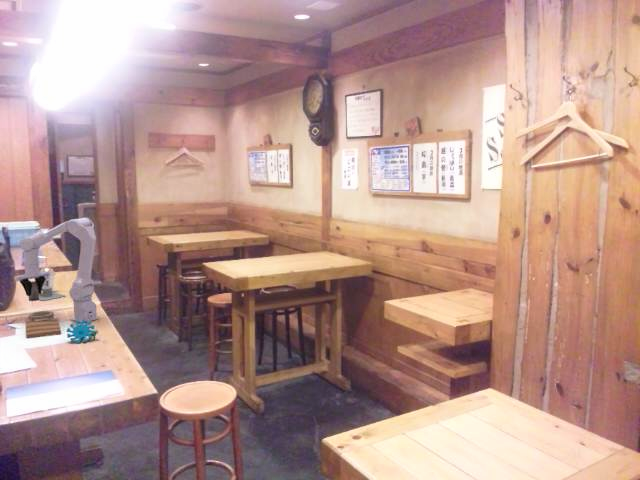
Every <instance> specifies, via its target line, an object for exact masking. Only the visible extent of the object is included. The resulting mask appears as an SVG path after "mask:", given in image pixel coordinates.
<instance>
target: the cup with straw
mask: <svg viewBox="0 0 640 480" xmlns="http://www.w3.org/2000/svg"><path fill="white" fill-rule="evenodd" d="M40 258H41V259H45V266H44V267H42V268H41V269H40V272H47V271H48V272H50V276H45V278H46V280H45V282H44V284H43V286H48V287H52V293H54V292H53V291H54V281H55V276H56V275H57V273H56V272H55V271H54V269H53V268H51V267H50V266H48V258H47V257H46V256H42V255H39V259H40Z"/></svg>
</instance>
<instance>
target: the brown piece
mask: <svg viewBox="0 0 640 480" xmlns="http://www.w3.org/2000/svg"><path fill="white" fill-rule="evenodd" d="M54 314H55V313H54V311H51V310H40V311H35V312H31V313H29V314H28V320H27V321H25V335H26V337H25V338H26V339H30V338H31V339H32V338H33V339H34V338H40V336H41V337H47V336H46V335H49V336H55V335H54V334H56V335H61V334H62V330H61V326H60V323H59V322H60V321H59V319H58V317H54Z"/></svg>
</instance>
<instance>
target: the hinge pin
mask: <svg viewBox="0 0 640 480" xmlns="http://www.w3.org/2000/svg"><path fill="white" fill-rule="evenodd" d="M30 293H31V295H30V296H28V301H29V302H35V301H36V302H37V301H39V295H40V294H39V289H38V281H35V280H33V281H31V284H30Z"/></svg>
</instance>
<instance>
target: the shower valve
mask: <svg viewBox="0 0 640 480" xmlns="http://www.w3.org/2000/svg"><path fill="white" fill-rule="evenodd" d="M62 297H63V298H66V295H65V294H62V293H61V294H60V293H57V292H53V293H52V287H48V286H42V290H41V294H39V300H38V301H40V302H47V301H52V300H53V301H54V300H56V299H61V298H62Z"/></svg>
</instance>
